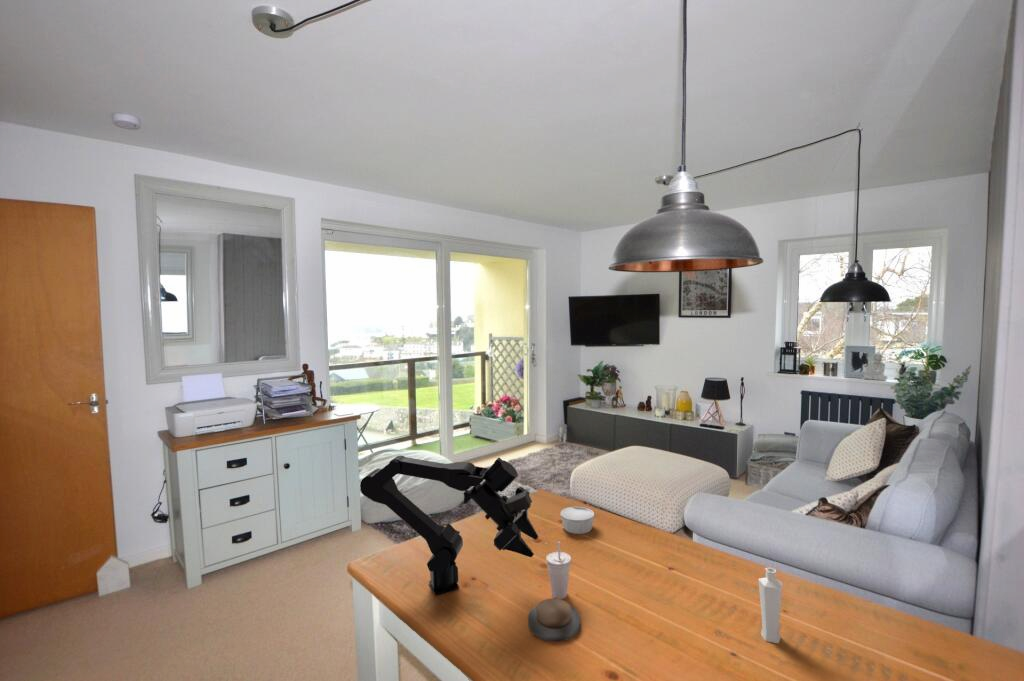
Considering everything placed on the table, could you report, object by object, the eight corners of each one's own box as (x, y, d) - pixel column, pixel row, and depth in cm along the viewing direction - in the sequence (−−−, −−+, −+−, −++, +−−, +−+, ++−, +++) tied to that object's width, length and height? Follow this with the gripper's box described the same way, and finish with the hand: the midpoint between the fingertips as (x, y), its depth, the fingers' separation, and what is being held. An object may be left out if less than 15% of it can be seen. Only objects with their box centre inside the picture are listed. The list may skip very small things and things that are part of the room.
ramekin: (596, 522, 160) (596, 507, 160) (592, 538, 149) (591, 521, 149) (564, 519, 163) (564, 504, 163) (557, 534, 153) (557, 518, 152)
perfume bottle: (761, 627, 105) (760, 562, 104) (783, 635, 102) (783, 568, 101) (756, 638, 101) (756, 571, 101) (779, 647, 99) (779, 578, 98)
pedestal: (544, 648, 100) (544, 632, 100) (519, 616, 111) (518, 602, 111) (590, 630, 105) (590, 615, 105) (562, 602, 116) (562, 588, 116)
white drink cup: (552, 604, 115) (550, 549, 115) (543, 590, 122) (542, 537, 121) (576, 599, 117) (574, 545, 116) (566, 585, 123) (565, 533, 123)
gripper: (505, 495, 111) (553, 543, 109) (518, 470, 129) (559, 510, 128) (474, 526, 113) (521, 574, 111) (491, 496, 131) (531, 537, 129)
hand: (534, 546), depth 120 cm, fingers open, 9 cm apart
